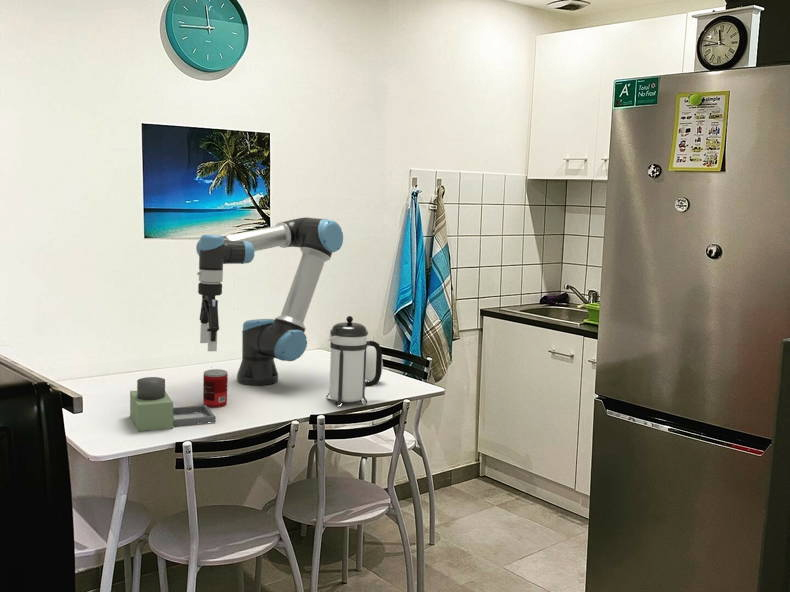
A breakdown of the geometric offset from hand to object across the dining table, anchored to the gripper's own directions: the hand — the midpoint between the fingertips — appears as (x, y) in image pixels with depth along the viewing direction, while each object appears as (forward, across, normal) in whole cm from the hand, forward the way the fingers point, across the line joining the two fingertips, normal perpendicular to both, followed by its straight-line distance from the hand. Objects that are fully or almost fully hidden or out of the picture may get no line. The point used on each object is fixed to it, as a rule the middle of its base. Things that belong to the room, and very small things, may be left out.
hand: (208, 347), depth 253 cm
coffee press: (+18, +9, +47) cm, 51 cm away
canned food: (+19, +1, +3) cm, 20 cm away
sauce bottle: (+18, -13, +64) cm, 68 cm away
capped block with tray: (+20, +14, -13) cm, 28 cm away
